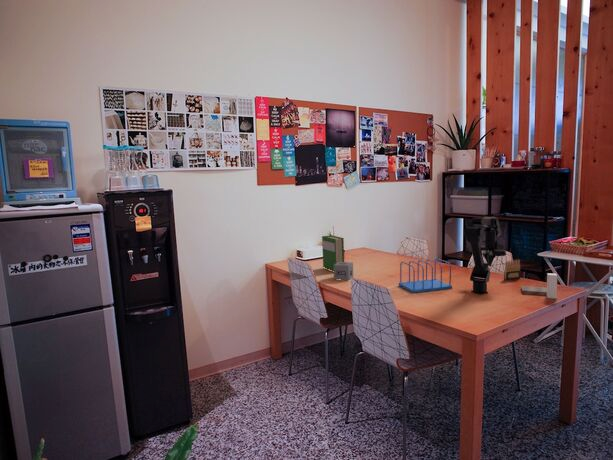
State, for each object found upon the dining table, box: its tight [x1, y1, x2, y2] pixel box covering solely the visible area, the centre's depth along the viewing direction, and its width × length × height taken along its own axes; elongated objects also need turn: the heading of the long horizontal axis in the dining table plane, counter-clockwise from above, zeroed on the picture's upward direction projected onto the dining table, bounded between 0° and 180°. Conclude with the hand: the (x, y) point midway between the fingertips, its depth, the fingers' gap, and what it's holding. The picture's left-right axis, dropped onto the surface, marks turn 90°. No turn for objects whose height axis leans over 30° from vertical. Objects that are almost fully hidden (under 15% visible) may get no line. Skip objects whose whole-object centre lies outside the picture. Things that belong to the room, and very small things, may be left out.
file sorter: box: [398, 258, 453, 294], centre depth 235 cm, size 25×17×15 cm
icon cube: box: [333, 261, 354, 281], centre depth 264 cm, size 10×10×10 cm
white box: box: [545, 272, 558, 299], centre depth 211 cm, size 4×13×12 cm, turn 155°
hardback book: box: [321, 235, 345, 271], centre depth 289 cm, size 18×7×24 cm, turn 26°
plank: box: [520, 285, 547, 297], centre depth 216 cm, size 15×10×2 cm, turn 65°
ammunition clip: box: [503, 258, 522, 281], centre depth 246 cm, size 11×2×12 cm, turn 106°
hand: (489, 265), depth 231 cm, fingers closed
